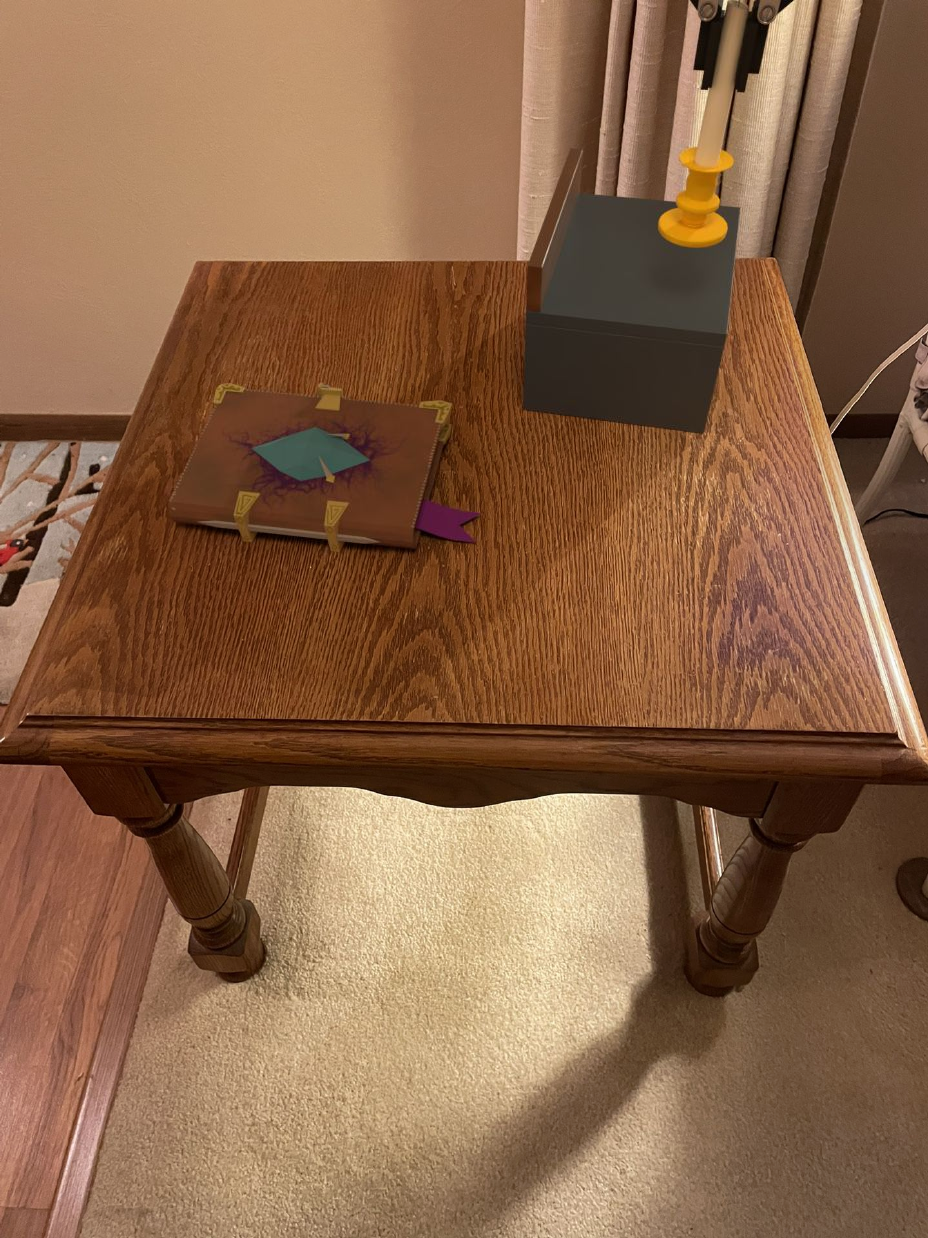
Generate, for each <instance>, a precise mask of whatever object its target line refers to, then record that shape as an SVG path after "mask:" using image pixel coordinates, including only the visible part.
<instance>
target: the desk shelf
mask: <svg viewBox="0 0 928 1238" xmlns="http://www.w3.org/2000/svg"><path fill="white" fill-rule="evenodd" d="M583 156H584V149H583V148H570V149H569V151H568V154H567V157H566V159H565V162H564V164H563V167H562V170H561V173H560V176H559V178H558V181H557V184H556V187H555V189H554V191H553V195H552V197H551V200H550V203H549V205H548V207H547V211H546V213H545V217H544V218H543V219H544V220H543V222H542V223H541V227H540V230H539V233H538V236H537V237H536V238H537V239H536V241H535V244H534V246H533V249H532V252H531V255H530V257H529V259H528V263H527V266H526V294H525V295H526V298H525V299H526V300H525V301H526V303H525V329H524V330H525V331H524V332H525V334H524V339H525V340H524V361H523V362H524V364H523V365H524V367H523V399H522V401H523V403H522V409H523V410H524V411H530V412H531V411H532V412H537V413H538V412H539V413H540V412H541V413H546V414H554V415H562V416H568V417H577V418H584V419H593V420H599V421H607V422H613V423H622V424H628V425H629V424H630V425H636V426H643V427H653V428H659V429H665V430H666V429H667V430H674V431H683V432H689V433H695V434H696V433H697V434H704V433H705V430H706V426H707V421H708V417H709V412H710V408H711V404H712V400H713V395H714V392H715V387H716V384H717V379H718V375H719V371H720V366H721V362H722V358H723V354H724V349H725V345H726V341H727V337H728V331H729V321H730V312H731V304H732V303H731V302H732V293H733V286H734V285H733V284H734V276H735V275H734V274H735V266H736V265H735V264H736V256H737V248H738V238H739V237H738V236H739V229H740V227H739V226H740V218H741V210H742V209H741V207H738V206H729V205H719V207H718V209H717V210H716V211H715V213H717V214H719V215H720V216H721V217H722V218H723V219H724V220H725V221H726V223H727V227H728V229H727V233H726V236H725V238H724V239H723V240H722V241H721V242H719V243H717V244H715V245H712V246H709V247H702V248H690V247H684V246H680V245H677V244H674V243H672V242H670V241H668V240H666V239H665V238H664V237H663V236H662V235H661V234H660V232H659V230H658V222H659V219H660V217H661V216H662V215H663V214H664V213H665V212H667V211H669V210H671V209H675V208H678V206H677V205H676V201H674V200H673V201H672V200H664V199H663V200H662V199H650V198H639V197H628V196H616V195H606V194H596V193H595V194H594V193H584V192H581V184H582V169H583V158H584V157H583Z"/></svg>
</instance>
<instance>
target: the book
mask: <svg viewBox="0 0 928 1238" xmlns="http://www.w3.org/2000/svg"><path fill="white" fill-rule="evenodd" d="M316 387H317V388H316V389H317V392H316V393H317V394H316V395H315V394H314V395H311V394H301V393H293V392H292V393H291V392H282V391H281V392H278V391H268V390H258V389H257V390H256V389H246V387H244V386H241V385H238V384H234V383H231V382H227V383H221V384H219V385H218V386H217V387H216V388H215V391H214V397H213V403H212V404H213V406H214V407H212V411H211V412H210V415H209V417H208V419H207V421H206V423H205V425H204V427H203V429H202V431H201V433H200V435H199V438H198V440H197V441H196V444H195V445H194V448H193V450H192V452H191V454H190V456H189V457H188V460H187V463H186V465H185V466H184V468H183V471H182V473H181V475H180V477H179V480H178V481H177V483H176V485H175V487H174V489H173V492H172V493H171V496H170V498H169V500H168V514H169V517H170V520H171V521H172V522H174V523H180V524H189V525H197V526H198V525H199V526H205V527H206V526H208V527H214V528H221V529H229V530H238V532H239V534H240V536H241V539H242V541H243V542H245V543H246V542H247V543H253V542H254V540H255V539H256V536H257V535H258V533H265V534H266V533H267V534H273V535H274V534H277V535H284V536H293V537H302V538H312V539H320V540H321V539H322V540H327V542H328V546H329V550H330V552H334V553H341V551H342V549H343V547H344V545H345V543H356V544H364V545H365V544H367V545H368V544H370V545H378V546H387V547H395V548H403V549H404V548H405V549H412V550H417V548H418V544H419V540H420V537H421V533H422V531H423V532H426V533H428V534H431V535H434V536H437V537H439V538H443V539H447V540H450V541H454V542H466V543H467V542H468V543H477V541H476V540H475V539H474V538H473V537H472V536H471V535H470V533H468V532H467V531H466V530H465V529H464V528H463V527H462V526H461V525H462V524H465V523H467V522H468V521H469V522H470V521H471V520H473V519H474V518H477V517H479V516H480V515H483V512H475V511H467V510H460V509H456V508H453V507H449V506H445V505H443V504H439V503H437V502H434V501H431V500H430V498H431V494H432V490H433V487H434V483H435V479H436V475H437V471H438V468H439V465H440V464H439V463H440V460H441V456H442V452H443V448H444V445H446V443H447V441H448V439H449V438H450V436H451V432H452V427H453V424H452V423H450V422H448V421H449V419H450V418H451V415H452V411H453V403H452V402H448V401H445V400H442V399H440V400H439V399H437V400H427V401H425V400H424V401H420V402H419V404H413V403H412V404H411V403H402V402H401V403H400V402H393V401H392V402H391V401H382V400H381V401H380V400H370V399H369V400H368V399H360V398H359V399H357V398H346V397H345V396H344V391H343V389H342V387H331V386H330V385H329V384H324V383H323V382H321V381H320V382H319V383H318V384H317V385H316Z"/></svg>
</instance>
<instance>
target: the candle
mask: <svg viewBox="0 0 928 1238" xmlns="http://www.w3.org/2000/svg"><path fill="white" fill-rule="evenodd" d="M724 10H725V14H724V20H723V26H722V32H721V38H720V43H719V49H718V55H717V60H716V66H715V72H714V77H713V83H712V88H708V90H707V91H708V92H707V95H706V100H705V106H704V110H703V116H702V121H701V125H700V129H699V130H700V131H699V135H698V140H697V145H696V146H693V147H688V148H686V149H684V150H683V151H681V152H680V154H679V156H678V160H679V162H680V164H681V165H682V166H683V167H685V168H687V169H688V176H687V178H686V180H685V189H684V190H682V191H680V192H679V193H677V196H676V198H675V202H676V205H677V206H678V208H675V209H671V210H669V211H667V212H665V213H664V214H663V215H662V216H661V217H660V219H659V222H658V230H659V232H660V234H661V235H662V236H663V237H664V238H665V239H666V240H668V241H670V242H672V243H674V244H677V245H680V246H684V247H690V248H702V247H709V246H712V245H715V244H717V243H719V242H721V241H722V240H723V239H724V238H725V236H726V233H727V229H728V227H727V223H726V221H725V220H724V219H723V218H722V217H721V216H720V215H719V214H717V213H715V211H716V210H717V209H718V207H719V206H720V203H721V199H720V198H719V196H718V195H717V194H716V193H715V191H716V188H717V185H718V176H719V175H720V173H722V172H726V171H727V170H729V169H731V168H732V167H733V165H734V163H735V160H734V157H733V156H732V155H731V154H730V153H729V152H727V151H726V150H724V149H722V148H723V142H724V139H725V133H726V127H727V124H728V119H729V114H730V109H731V104H732V99H733V94H734V91H735V90H734V87H735V80H736V75H737V70H738V65H739V60H740V55H741V50H742V45H743V40H744V34H745V29H746V24H747V19H748V14H749V11H750V7H749V5H748V4H746V3H745V2H742V1H741V0H727V2H726V7H725V9H724Z"/></svg>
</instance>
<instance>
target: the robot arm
mask: <svg viewBox="0 0 928 1238" xmlns="http://www.w3.org/2000/svg"><path fill="white" fill-rule="evenodd" d="M689 1H690V3H691V4H692V6H693V7H694V9H695V10H696V12H697V17H698V18H699V19H700V23H699V24H700V25H699V30H698V36H697V43H696V50H695V55H694V60H693V61H694V62H693V63H694V64H693V67H692V70H693V71H699V72H703V73H702V78H701V84H700V91H709V88H712V83H713V77H714V72H715V66H716V60H717V55H718V49H719V43H720V38H721V32H722V26H723V20H724V15H725V10H726V9H723V8H724V7H723V6H724V0H689ZM793 2H795V0H753V2H752V7H751V10H749V14H748V19H747V24H746V29H745V34H744V40H743V45H742V50H741V55H740V60H739V65H738V70H737V75H736V80H735V85H734V90H733V91H736V93H742V94H744V93H745V92H746V88H747V85H748V79H749V74H750V75H759V74H760V73H761V66H762V62H763V57H764V53H765V48H766V43H767V40H768V39H767V38H768V33H769V29H770V25H771V24H772V23H773V22H774V21H775V20H776V19H777V16H778V15H779V14H780V13H781V12H783V11H784V10H785V9H786V8H787V7H788V6H789V5H790V4H792V3H793Z"/></svg>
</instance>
